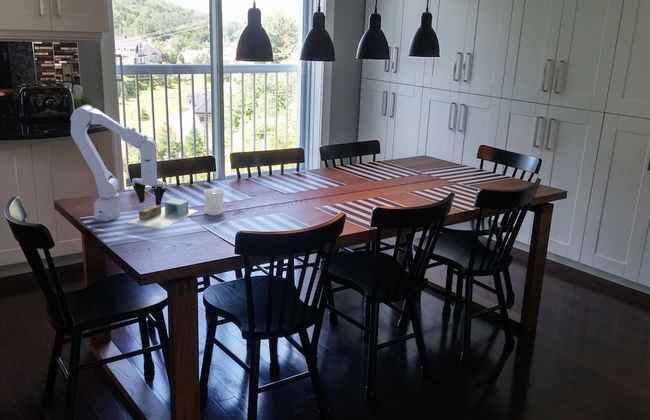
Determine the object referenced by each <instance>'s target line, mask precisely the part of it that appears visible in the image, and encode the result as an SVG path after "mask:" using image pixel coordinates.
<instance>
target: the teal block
mask: <svg viewBox="0 0 650 420" xmlns="http://www.w3.org/2000/svg"><path fill="white" fill-rule="evenodd" d="M164 207H165V214H170V213H172V212H174V211H175V212H178V216H179V217H181V216H183V215H185V214H187V213H189V210H188V209H189V200H185V199H180V198H179V199H177V198H174V197H173V198H171V199H168V200H166V201H164Z"/></svg>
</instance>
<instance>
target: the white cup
mask: <svg viewBox="0 0 650 420" xmlns="http://www.w3.org/2000/svg"><path fill="white" fill-rule="evenodd" d="M224 194H225V190H223V189H222V188H215V187H212V188H210V187H209V188H205V189H204V190H203V199H204V209H205V210H204V212H205V214H206V215H209V216H216V215H217V216H219V215H222V214H223V207H224Z"/></svg>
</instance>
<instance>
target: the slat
mask: <svg viewBox="0 0 650 420" xmlns="http://www.w3.org/2000/svg"><path fill="white" fill-rule="evenodd" d="M161 208H162V205H159V206H156V203H154V204H152V205H150V206H147V207H145V208H142V209H140V210H138V218H139V219H140V220H145V221H146V220H148V219H151V218H153V217H155V216H157V215H160V214H161Z"/></svg>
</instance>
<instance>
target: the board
mask: <svg viewBox="0 0 650 420" xmlns="http://www.w3.org/2000/svg"><path fill="white" fill-rule="evenodd" d="M188 210H189V213H187V214H185V215H183V216H181V217H179V216H178V212H175V211H174V212H172V213H170V214H165V206H163V207H162V206H161V214H160V215H157V216H155V217H153V218H151V219H148V220H146V221H145V220H140V219H139V217H136V218H135V219H132V220H130V221H128V222H127V223H128V224H134V225H139V226H144V227H149V228H155V229H159V230H160V229H161V230H162V229H164V228H166V227H168V226H170V225H172V224H174V223H176V222H179V221H181V220H183V219H185V218H187V217H188V216H192V215H193V214H195V213H197V212H199V210H198V209H197V210H196V209H192V208H191V209H190V208H188Z"/></svg>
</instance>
